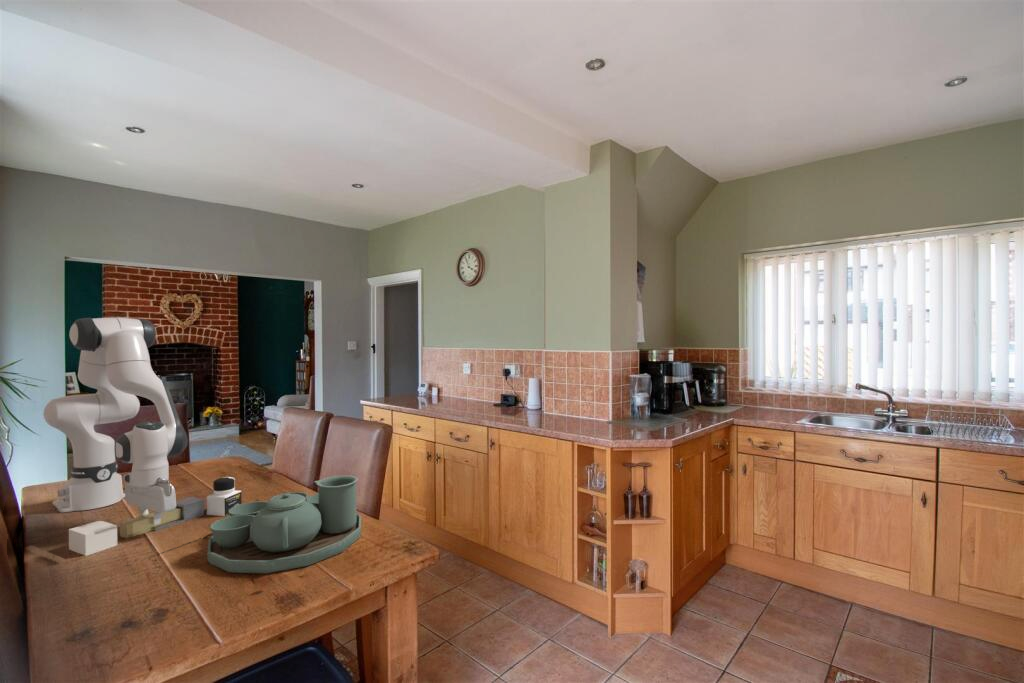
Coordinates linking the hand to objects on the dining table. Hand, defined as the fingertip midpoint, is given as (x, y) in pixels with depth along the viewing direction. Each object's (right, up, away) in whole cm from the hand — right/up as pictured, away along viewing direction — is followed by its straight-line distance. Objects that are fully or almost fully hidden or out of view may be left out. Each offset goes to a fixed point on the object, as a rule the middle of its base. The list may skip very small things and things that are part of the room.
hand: (150, 522), depth 141 cm
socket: (-6, -3, -13) cm, 14 cm away
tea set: (+44, -3, -7) cm, 45 cm away
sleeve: (+3, -3, +6) cm, 7 cm away
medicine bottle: (+13, -3, +14) cm, 20 cm away
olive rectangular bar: (0, -2, +1) cm, 2 cm away
